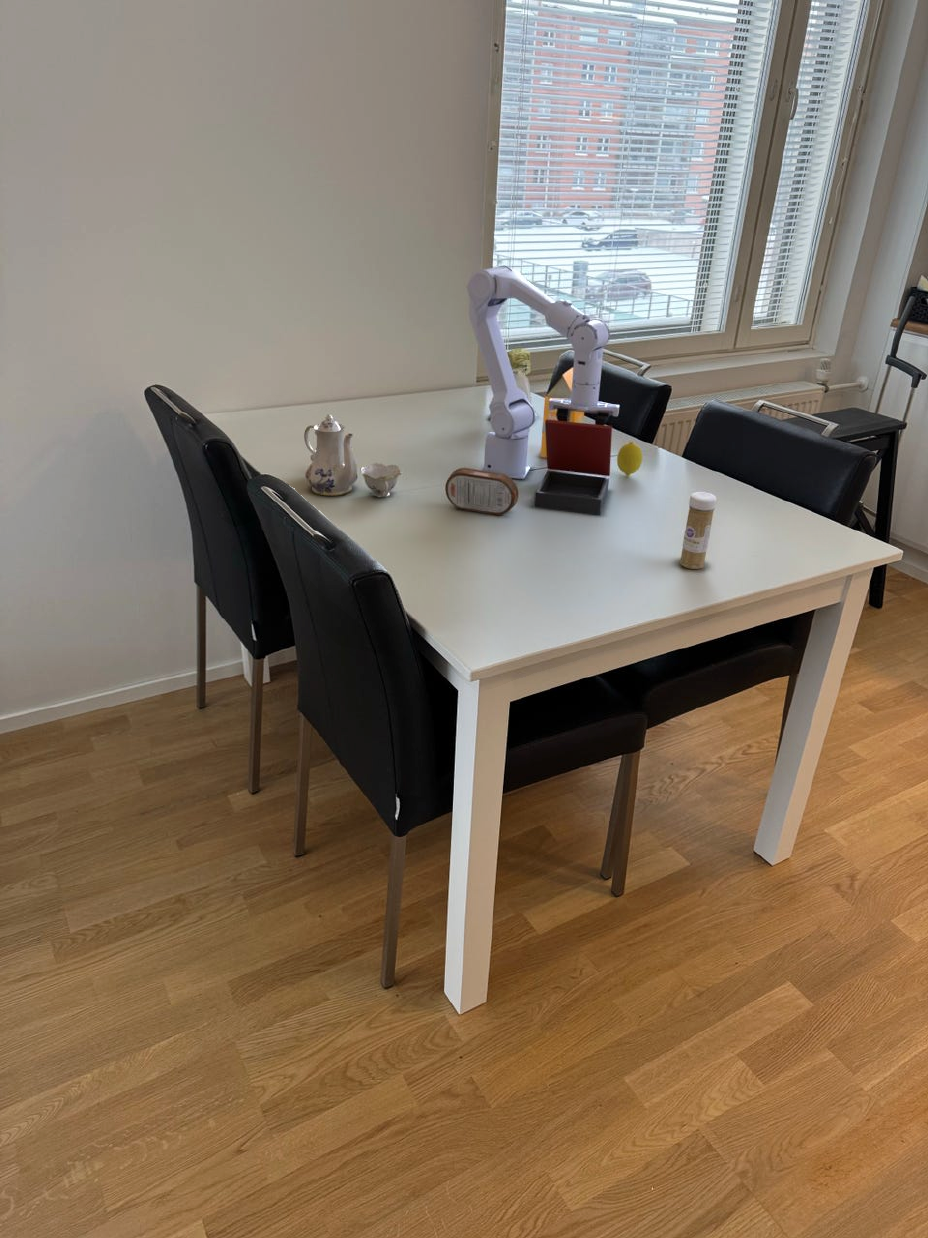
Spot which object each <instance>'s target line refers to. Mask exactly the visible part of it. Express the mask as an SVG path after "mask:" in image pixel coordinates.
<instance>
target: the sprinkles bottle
mask: <svg viewBox="0 0 928 1238" xmlns="http://www.w3.org/2000/svg"><path fill="white" fill-rule="evenodd" d="M717 500H718V499H717V497H716V495H714V494H713V493H709V492H705V491H696V492H693V493H691V494H690V496H689V500H688V502H689V503H688V505H689V507H688V508H689V509H688V514H687V520H686V526H685V531H684V534H683V535H684V536H683V540H682V549H681V554H680V555H681V556H680V559H679V564H680V565H681V566H682V567H684V568H685V569H691V570H699V569H702V568H704V567H705V566H706V563H705V562H706V556H707V550H708V548H709V547H708V546H709V541H710V535H711V529H712V521H713V516H714V511H715V509H716V507H717V506H716V505H717Z"/></svg>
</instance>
